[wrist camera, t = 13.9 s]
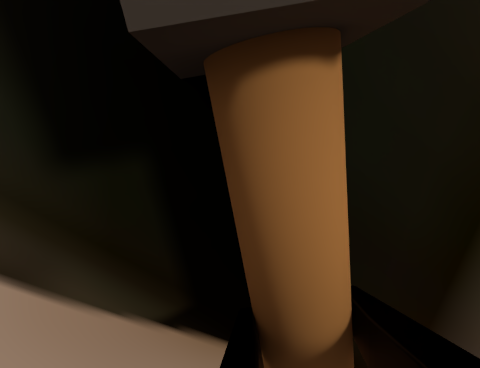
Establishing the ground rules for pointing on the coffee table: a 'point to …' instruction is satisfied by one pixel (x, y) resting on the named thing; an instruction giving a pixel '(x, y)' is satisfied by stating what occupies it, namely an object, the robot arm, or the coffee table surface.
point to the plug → (278, 150)
